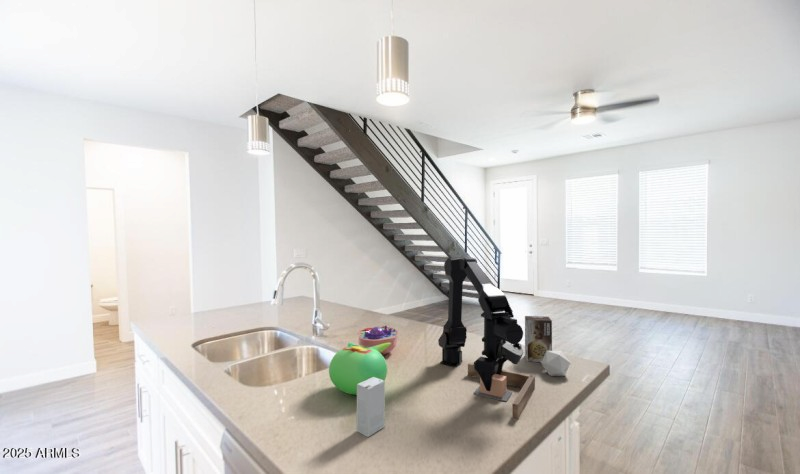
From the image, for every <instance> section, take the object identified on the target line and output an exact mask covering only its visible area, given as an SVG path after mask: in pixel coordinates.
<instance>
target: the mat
mask: <svg viewBox="0 0 800 474" xmlns="http://www.w3.org/2000/svg"><path fill="white" fill-rule="evenodd" d="M513 394H514V393H513V391H511V390H507V389H506V394H505V395H504V397H503V398H502V397H498V396H494V395H489V394H485V393H481V392H480V385H479V386H478V387H477V389H476V390H475V391H474V392H473V395H477V396H481V397H485V398H489V399H493V400H498V401H501V402H505V403H507V402H508V401H509V399H510V398H511V396H512V395H513Z"/></svg>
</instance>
